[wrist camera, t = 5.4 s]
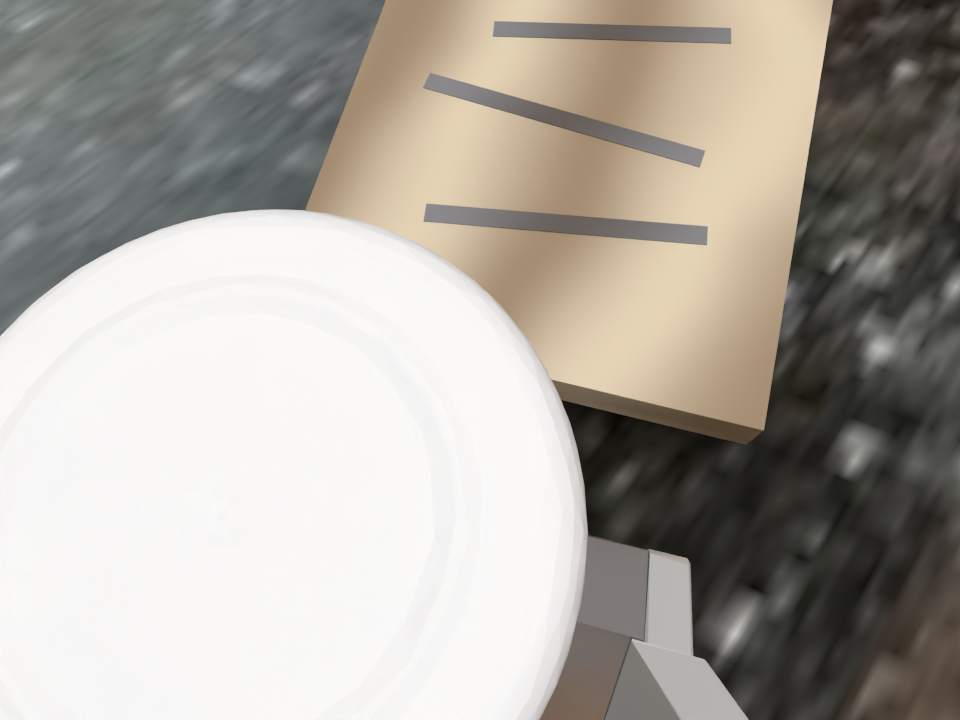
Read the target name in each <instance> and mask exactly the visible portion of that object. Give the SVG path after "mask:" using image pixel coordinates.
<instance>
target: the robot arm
mask: <svg viewBox="0 0 960 720" xmlns="http://www.w3.org/2000/svg"><path fill="white" fill-rule="evenodd" d="M540 720H749V719H748V718H747V717H746V715H745V714H744V713H743V711H742V710H741V708H740V707H739V706H738V704H737V703H736V702H735V700H734V699H733V697H732V696H731V695H730V693H729V692H728V690H727V689H726V688H725V686H724V685H723V684H722V682H721V681H720V679H719V678H718V677H717V675H716V674H715V673H714V671H713V670H712V668H711V667H710V666H709V664H708V663H707V662H706V660H704V659H701V658H697V657H694V656H693V637H692V603H691V569H690V563H689V561H688V559H687V558H684V557H680V556H676V555H671V554H667V553H663V552H659V551H655V550H651V549H648V550H646V549H642V548H638V547H634V546H630V545H626V544H623V543H619V542H615V541H611V540H607V539H603V538H600V537H596V536H592V535H588V536H587V551H586V565H585V578H584V586H583V593H582V600H581V605H580V609H579V613H578V617H577V621H576V625H575V629H574V633H573V637H572V641H571V645H570V649H569V653H568V656H567V658H566V661H565V664H564V667H563V669H562V672H561V675H560V678H559V680H558V683H557V686H556V688H555V690H554V692H553V694H552V696H551V698H550V700H549V702H548V704H547V706H546V708H545V710H544V712H543V714H542V716H541V718H540Z"/></svg>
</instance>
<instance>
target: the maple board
mask: <svg viewBox="0 0 960 720" xmlns="http://www.w3.org/2000/svg"><path fill="white" fill-rule="evenodd" d="M832 3H833V0H386V2H385V4H384V7H383V10H382V12H381V15H380V17H379V20H378V23H377V25H376V28H375V30H374V33H373V36H372V38H371V41H370V43H369V46H368V49H367V51H366V54H365V56H364V59H363V62H362V64H361V67H360V69H359V72H358V75H357V77H356V80H355V82H354V85H353V88H352V90H351V93H350V95H349V98H348V101H347V103H346V106H345V108H344V111H343V114H342V116H341V119H340V121H339V124H338V127H337V129H336V132H335V134H334V137H333V140H332V142H331V145H330V147H329V150H328V153H327V155H326V158H325V160H324V163H323V166H322V168H321V171H320V173H319V176H318V179H317V181H316V184H315V186H314V189H313V191H312V194H311V197H310V199H309V202H308V204H307V207H306V210H305V211H311V212H319V213H327V214H331V215H336V216H340V217H344V218H349V219H353V220H358V221H362V222H366V223H370V224H372V225H375V226H378V227H381V228H383V229H385V230H388V231H390V232H393V233H395V234H397V235H400V236H402V237H405V238H407V239H409V240H412V241H414V242H416V243H419V244H420V245H422V246H424V247H426V248H428V249H429V250H431V251H433V252H435V253H437V254H438V255H439V256H441V257H442V258H444V259H445V260H447V261H448V262H450V263H451V264H452V265H454V266H455V267H456V268H458V269H459V270H460V271H462V272H463V273H465V274H466V275H467V276H469V277H470V278H471V279H473V280H474V281H476V282H477V283H478V284H479V285H480V286H481V287H482V288H483V289H484V290H485V291H486V292H487V293H489V294H490V295H491V296H492V297H493V298H494V299H495V300H496V301H497V302H498V303H499V304H500V305H501V306H502V308H503V309H504V310H505V311H506V313H507V314H508V315H509V316H510V318H511V319H512V320H513V321H514V323H515V324H516V325H517V327H518V328H519V329H520V330H521V332H522V333H523V334H524V335H525V337H526V338H527V339H528V340H529V342H530V343H531V345H532V347H533V348H534V350H535V351H536V353H537V355H538V356H539V358H540V359H541V361H542V363H543V364H544V366H545V367H546V369H547V371H548V373H549V375H550V377H551V379H552V382H553V384H554V386H555V388H556V390H557V392H558V394H559V397H560V399H561V400H563V401H567V402H572V403H576V404H580V405H584V406H588V407H592V408H596V409H600V410H604V411H609V412H613V413H617V414H621V415H625V416H629V417H633V418H637V419H641V420H645V421H650V422H654V423H658V424H662V425H666V426H670V427H674V428H678V429H682V430H687V431H691V432H695V433H699V434H703V435H707V436H711V437H715V438H719V439H724V440H728V441H732V442H736V443H740V444H744V445H746V444H747V443H748V442H750V441H751V440H752V439H754V438H755V437H756V436H757V435H759V434H760V433H761V432H762V431H764V426H765V420H766V414H767V407H768V401H769V395H770V389H771V382H772V376H773V370H774V364H775V358H776V351H777V345H778V339H779V333H780V326H781V320H782V314H783V308H784V302H785V295H786V289H787V283H788V277H789V270H790V264H791V258H792V252H793V245H794V239H795V233H796V227H797V221H798V214H799V208H800V202H801V196H802V189H803V183H804V177H805V171H806V165H807V158H808V152H809V146H810V140H811V133H812V127H813V121H814V115H815V108H816V102H817V96H818V90H819V84H820V77H821V71H822V65H823V59H824V52H825V46H826V40H827V34H828V27H829V21H830V15H831V9H832Z"/></svg>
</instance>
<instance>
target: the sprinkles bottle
mask: <svg viewBox="0 0 960 720" xmlns="http://www.w3.org/2000/svg"><path fill="white" fill-rule="evenodd" d="M587 536H588V530H587V516H586V503H585V490H584V481H583V476H582V471H581V466H580V461H579V456H578V450H577V446H576V443H575V439H574V435H573V432H572V428H571V424H570V422H569V419H568V417H567V414H566V412H565V409H564V407H563V404H562V402H561V399H560V397H559V394H558V392H557V390H556V388H555V386H554V384H553V382H552V379H551V377H550V375H549V373H548V371H547V369H546V367H545V366H544V364H543V363H542V361H541V359H540V358H539V356H538V355H537V353H536V351H535V350H534V348H533V347H532V345H531V343H530V342H529V340H528V339H527V338H526V337H525V335H524V334H523V333H522V332H521V330H520V329H519V328H518V327H517V325H516V324H515V323H514V321H513V320H512V319H511V318H510V316H509V315H508V314H507V313H506V311H505V310H504V309H503V308H502V306H501V305H500V304H499V303H498V302H497V301H496V300H495V299H494V298H493V297H492V296H491V295H490V294H489V293H487V292H486V291H485V290H484V289H483V288H482V287H481V286H480V285H479V284H478V283H477V282H476V281H474V280H473V279H471V278H470V277H469V276H467V275H466V274H465V273H463V272H462V271H460V270H459V269H458V268H456V267H455V266H454V265H452V264H451V263H450V262H448V261H447V260H445V259H444V258H442V257H441V256H439V255H438V254H437V253H435V252H433V251H431V250H429V249H428V248H426V247H424V246H422V245H420V244H419V243H416V242H414V241H412V240H409V239H407V238H405V237H402V236H400V235H397V234H395V233H393V232H390V231H388V230H385V229H383V228H381V227H378V226H375V225H372V224H370V223H366V222H362V221H358V220H353V219H349V218H344V217H340V216H336V215H331V214H327V213H319V212H311V211H302V210H275V209H272V210H252V211H243V212H233V213H224V214H218V215H213V216H209V217H204V218H199V219H195V220H190V221H187V222H183V223H180V224H177V225H173V226H170V227H167V228H163V229H160V230H157V231H155V232H153V233H150V234H148V235H145V236H143V237H140V238H138V239H135V240H133V241H130V242H128V243H126V244H124V245H122V246H120V247H118V248H116V249H114V250H112V251H111V252H109V253H107V254H105V255H103V256H101V257H99V258H97V259H96V260H94V261H92V262H90V263H89V264H87V265H85V266H83V267H82V268H80V269H78V270H76V271H75V272H73V273H72V274H71V275H69V276H68V277H67V278H65V279H64V280H63V281H61V282H60V283H59V284H57V285H56V286H55V287H53V288H52V289H51V290H49V291H48V292H47V293H45V294H44V295H43V296H42V297H40V298H39V299H38V300H37V301H36V302H34V303H33V304H32V305H31V306H30V307H29V308H28V309H27V310H26V311H25V312H24V313H23V314H22V315H21V316H20V317H19V318H18V319H17V320H16V321H15V322H14V323H13V324H12V325H11V326H10V327H9V328H8V329H7V330H6V331H5V332H4V333H3V334H2V335H1V336H0V720H540V718H541V716H542V714H543V712H544V710H545V708H546V706H547V704H548V702H549V700H550V698H551V696H552V694H553V692H554V690H555V688H556V686H557V683H558V680H559V678H560V675H561V672H562V669H563V667H564V664H565V661H566V658H567V656H568V653H569V649H570V645H571V641H572V637H573V633H574V629H575V625H576V621H577V617H578V613H579V609H580V605H581V600H582V593H583V586H584V578H585V565H586V551H587Z"/></svg>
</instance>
